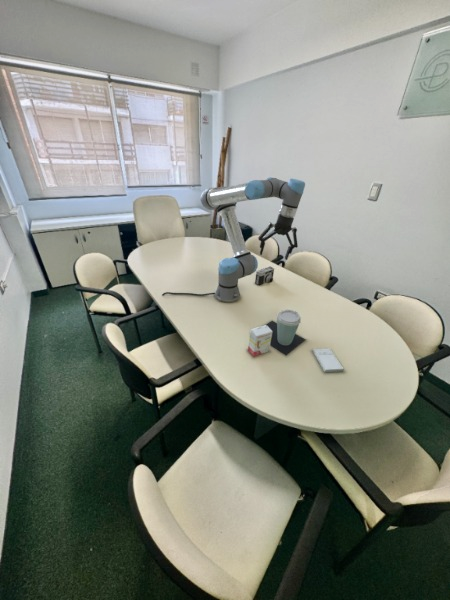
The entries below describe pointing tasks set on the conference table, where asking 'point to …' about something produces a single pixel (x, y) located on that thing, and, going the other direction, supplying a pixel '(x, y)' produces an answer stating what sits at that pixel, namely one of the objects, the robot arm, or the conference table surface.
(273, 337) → the mat
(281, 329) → the disposable coffee cup
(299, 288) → the conference table surface
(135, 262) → the conference table surface
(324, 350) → the hard drive
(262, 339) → the ink box
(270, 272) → the camera
